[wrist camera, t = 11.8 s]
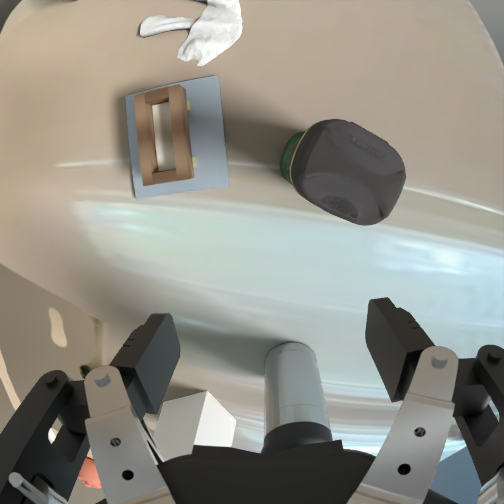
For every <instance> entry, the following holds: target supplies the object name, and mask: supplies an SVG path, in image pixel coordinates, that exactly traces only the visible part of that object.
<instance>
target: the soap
mask: <svg viewBox="0 0 504 504" xmlns="http://www.w3.org/2000/svg"><path fill="white" fill-rule="evenodd" d="M48 438H49V440H51V441H54V440H55V438H56V436H55V434H54V433H53V431H52V430H51V429H50V430H49V434H48Z"/></svg>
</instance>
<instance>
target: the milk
mask: <svg viewBox="0 0 504 504" xmlns="http://www.w3.org/2000/svg"><path fill="white" fill-rule="evenodd" d="M235 425H236V420H235V419H234V418H233V417H232V416H231V415H230V414H229V413H228V412H227V411H226V410H225V409H224V408H223V407H222V406H221V405H220V404H219V403H218V402H217V400H216V399H215V398H214V397H213V396H212V395H211V394H210V393H209V392H208V391H204V392H200V393H197V394H193V395H189V396H185V397H182V398H178V399H173V400H169V401H165V402H163V406H162V409H161V412H160V416H159V419H158V423H157V426H156V430H155V433H154V437H153V439H154V441H155V443H156V445H157V447H158V449H159V451H160V453H161V455H162V457H163V458H164V460H165V461H167V460H169V459H172V458H175V457H178V456H182V455H187V454H191V453H192V449H193V445H205V446H222V447H231V445H232V440H233V435H234V430H235Z"/></svg>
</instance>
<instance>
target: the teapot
mask: <svg viewBox="0 0 504 504" xmlns="http://www.w3.org/2000/svg"><path fill="white" fill-rule="evenodd" d="M78 478H79V479H80V480H81V481H83V482H84V485H85V486H87V487H89V488H91V486H92V487H94V488H97V489H98V488H101V487H102V486H101V483H100V479H99V476H98V473H97V470H96V466H95V463H94V461H93V460H91V459H88V458H85V460H84V463H83V465H82V468H81V470H80V472H79V475H78Z"/></svg>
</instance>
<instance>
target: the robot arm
mask: <svg viewBox="0 0 504 504" xmlns="http://www.w3.org/2000/svg"><path fill="white" fill-rule="evenodd" d="M365 338H366V344H367V347H368V349H369V352H370V354H371V356H372V358H373V360H374V363H375V365H376V367H377V369H378V371H379V374H380V376H381V378H382V380H383V383H384V385H385V387H386V390H387V392H388V394H389V397H390V399H391V402H397V401H401V400H403V403H402V405H401V408H400V410H399V412H398V414H397V417H396V419H395V421H394V423H393V425H392V427H391V429H390V432H389V434H388V436H387V438H386V440H385V442H384V443H383V445H382V447H381V449H380V451H379V453H378V455H377V457H375V456H373V455H371V454H368V453H365V452H361V451H357V450H350V449H343V445H342V440H335V441H333V440H332V434H331V429H330V423H329V418H328V414H327V408H326V403H325V398H324V393H323V388H322V384H321V379H320V374H319V369H318V365H317V360H316V356H315V353H314V351H313V350H312V349H311V348H310V347H308V346H306V345H304V344H301V343H285V344H282V345H279V346H277V347H275V348H274V349H272V350H271V351H270V352H269V353H268V355H267V357H266V360H265V399H264V447H263V449H262V451H261V453H255V452H250V451H245V450H240V449H236V448H232V447H222V446H205V445H193V449H192V453H191V454H187V455H182V456H178V457H175V458H172V459H169V460H167V461H165V460H164V458H163V457H162V455H161V453H160V451H159V449H158V447H157V445H156V443H155V441H154V439H153V437H152V435H151V433H150V431H149V429H148V427H147V425H146V423H145V421H144V419H143V417H144V415H145V413H151V414H157V412H158V409H159V407H160V404H161V402H162V399H163V397H164V394H165V392H166V389H167V387H168V384H169V382H170V380H171V377H172V375H173V372H174V370H175V367H176V365H177V363H178V360H179V357H180V344H179V340H178V337H177V333H176V329H175V326H174V322H173V318H172V316H171V314H169V313H155V314H151V316H150V317H149V318H148V320H147V321H146V323H145V324H144V325H141V326H139V327H138V328H137V329H135V330H134V331H133V332H132V333H131V334H130V336H129V337H128V339H127V340H126V342H125V343H124V344H123V347H121V349H120V350H119V352H118V353H117V354H116V356H115V357H114V359H113V360H112V362H111V363H110V365H109V366H101V367H98V368H95V369H93V370H92V371H91V372H89V373H88V374H87V376H86V377H85V380H82V381H81V380H80V381H69V379H68V377H67V375H66V374H65V373H64V372H63V371H60V370H54V371H50V372H48V373H46V374H44V375H43V376H42V377H41V378H40V379H39V380H38V382H37V383H36V384H35V386H34V387H33V388H32V390H31V391H30V393H29V394H28V395H27V396H26V398H25V399H24V401H23V402H22V403H21V405H20V406H19V407H18V409H17V410H16V412H15V413H14V415H13V416H12V418H11V419H10V420H9V422H8V423H7V425H6V426H5V428H4V430H3V431H2V433H1V434H0V504H68V500H69V497H70V495H71V492H72V489H73V487H74V484H75V482H76V480H77V477H78V475H79V472H80V470H81V468H82V465H83V463H84V460H85V458H86V456H87V453H88V451H89V449H90V447H91V451H92V455H93V459H94V463H95V466H96V470H97V473H98V476H99V479H100V483H101V486H102V489H103V491H104V494H105V497H106V498H105V499H103V500H101V501H100V502H98V503H96V504H457V503H456V502H454V501H452V500H450V499H448V498H446V497H444V496H442V495H440V494H438V493H436V492H435V491H433V490H431V489H429V488H430V485H431V483H432V480H433V477H434V475H435V472H436V470H437V467H438V464H439V461H440V458H441V455H442V452H443V449H444V446H445V442H446V439H447V435H448V432H449V428H450V424H451V420H452V417H454V418H455V420H456V422H457V425H458V427H459V429H460V431H461V433H462V436H463V438H464V440H465V443H466V445H467V448H468V450H469V452H470V455H471V457H472V460H473V463H474V465H475V468H476V471H477V473H478V476H479V479H480V482H481V485H482V489H481V490H480V493H479V496H478V503H477V504H504V349H503V348H501V347H499V346H496V345H485V346H483V347H481V348H480V349H479V351H478V353H477V356H476V358H467V359H458V357H457V355H456V354H455V353H454V352H453V351H452V350H450V349H448V348H446V347H442V346H435V345H434V343H433V342H432V341H431V339H430V338H429V337H428V335H427V334H426V333H425V332H424V330H423V329H422V328H420V325H419V324H418V323H417V322H416V320H415V319H414V318H413V316H412V315H411V314H410V313H409V312H407V311H406V310H404V309H402V308H401V307H400V308H396V307H395V305H394V304H393V303H392V301H391V300H390V299H389V298H388V297H386V298H378V299H371V300H370V301H369V304H368V314H367V323H366V332H365ZM491 399H492V401H493V403H494V404H495V406H496V408H497V410H498V412H499V416H500V420H499V422H498V420H497V418H496V416H495V415H494V413H493V411H492V409H491V408H490V406H489V402H490V400H491ZM56 418H58V419H59V420H60V421H61V423H62V424H63V425H62V427H61V429H60V430H59V432H58V434H57V436H56V438H55V440H54V441H53V443H52V444H51V443H50V441H49V438H48V434H49V430H50V428H51V427H52V425H53V423H54V421H55V420H56Z"/></svg>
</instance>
